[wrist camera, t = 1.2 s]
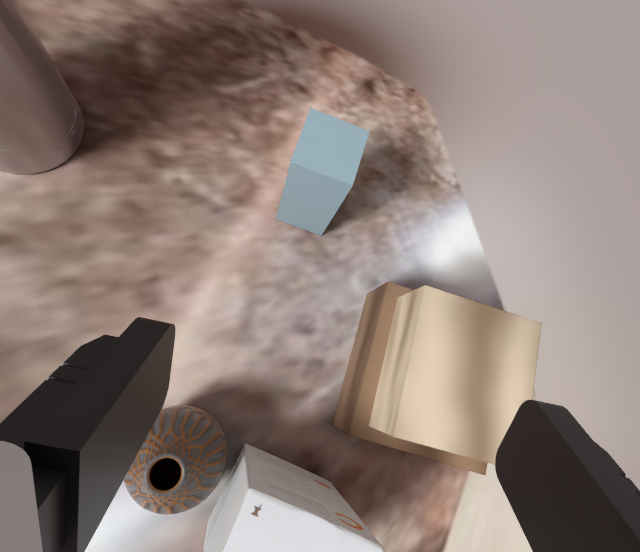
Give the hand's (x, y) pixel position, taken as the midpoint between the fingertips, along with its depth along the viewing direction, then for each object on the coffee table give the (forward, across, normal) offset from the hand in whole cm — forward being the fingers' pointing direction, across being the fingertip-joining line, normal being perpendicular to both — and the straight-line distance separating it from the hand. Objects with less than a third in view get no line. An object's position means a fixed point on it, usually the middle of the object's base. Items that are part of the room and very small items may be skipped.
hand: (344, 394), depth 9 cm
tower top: (+19, -11, +11) cm, 25 cm away
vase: (+18, +7, +21) cm, 28 cm away
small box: (+16, -1, +24) cm, 29 cm away
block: (+31, +2, +3) cm, 31 cm away
